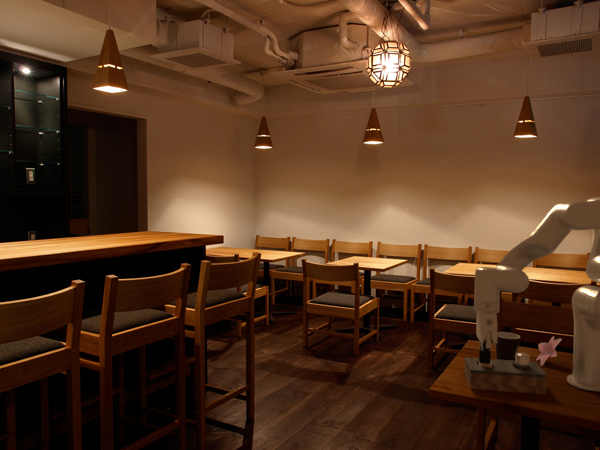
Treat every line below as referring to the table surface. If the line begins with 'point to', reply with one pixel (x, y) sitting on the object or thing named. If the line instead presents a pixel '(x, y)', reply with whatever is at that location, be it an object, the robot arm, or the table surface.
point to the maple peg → (485, 365)
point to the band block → (505, 377)
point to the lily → (548, 350)
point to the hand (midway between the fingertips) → (484, 362)
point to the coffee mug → (507, 346)
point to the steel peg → (522, 361)
